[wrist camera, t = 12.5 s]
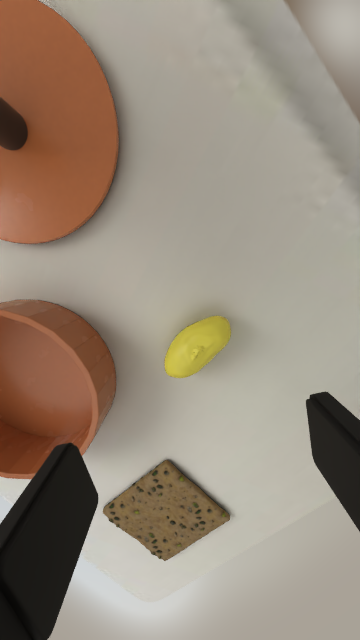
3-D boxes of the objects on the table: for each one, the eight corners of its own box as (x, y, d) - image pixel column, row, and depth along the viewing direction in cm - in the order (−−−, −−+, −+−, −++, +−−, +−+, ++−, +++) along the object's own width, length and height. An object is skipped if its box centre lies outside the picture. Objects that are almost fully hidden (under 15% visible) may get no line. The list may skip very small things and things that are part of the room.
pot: (-63, 320, 24) (-129, 334, 19) (86, 282, 22) (57, 286, 17) (3, 450, 28) (-38, 491, 23) (134, 425, 26) (122, 463, 21)
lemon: (237, 332, 23) (247, 345, 19) (178, 376, 25) (176, 396, 21) (213, 301, 23) (218, 309, 19) (153, 348, 24) (147, 363, 20)
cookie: (165, 558, 31) (165, 567, 30) (101, 507, 29) (98, 515, 28) (231, 515, 29) (233, 523, 28) (166, 457, 27) (166, 464, 26)
